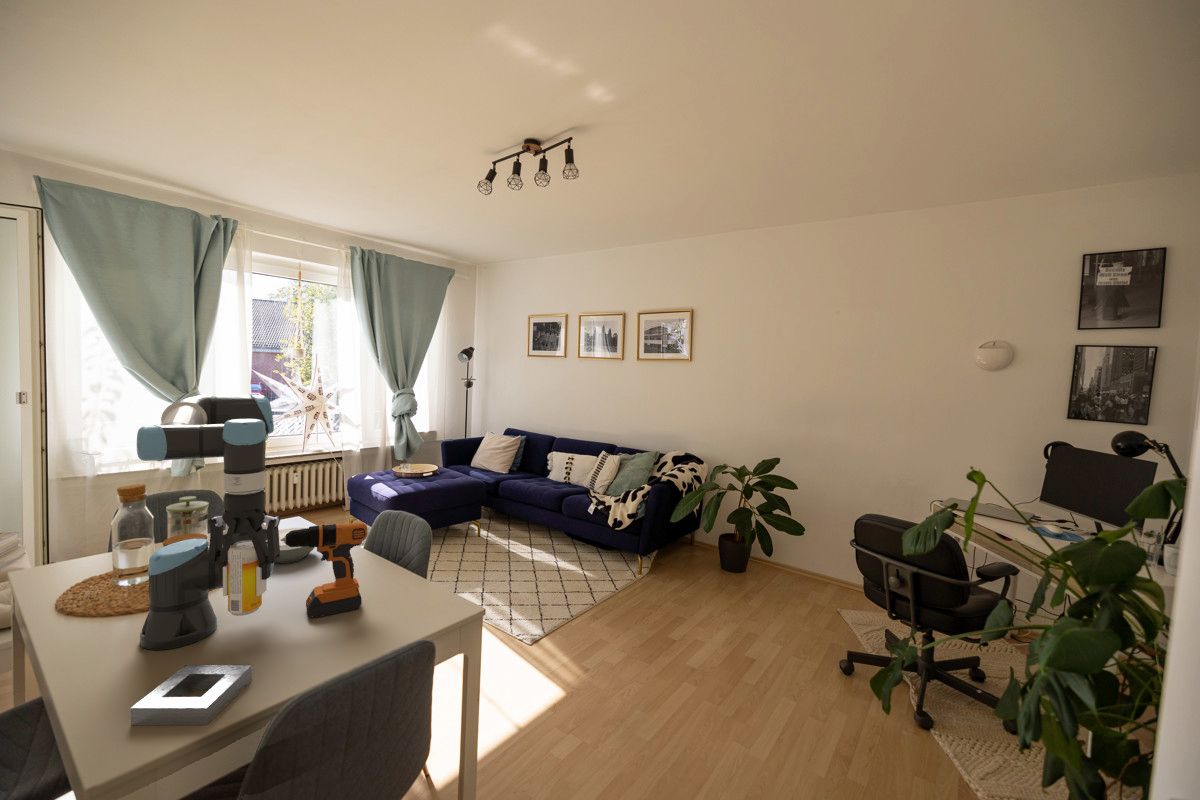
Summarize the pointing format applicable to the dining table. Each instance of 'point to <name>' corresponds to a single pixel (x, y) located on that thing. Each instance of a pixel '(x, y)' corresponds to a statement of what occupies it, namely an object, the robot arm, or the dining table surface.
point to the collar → (178, 710)
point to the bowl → (291, 549)
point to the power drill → (336, 549)
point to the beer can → (242, 579)
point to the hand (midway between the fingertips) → (245, 593)
